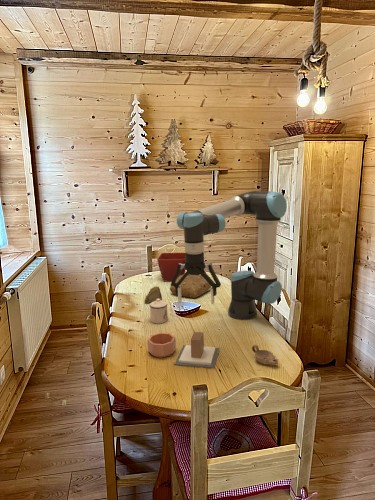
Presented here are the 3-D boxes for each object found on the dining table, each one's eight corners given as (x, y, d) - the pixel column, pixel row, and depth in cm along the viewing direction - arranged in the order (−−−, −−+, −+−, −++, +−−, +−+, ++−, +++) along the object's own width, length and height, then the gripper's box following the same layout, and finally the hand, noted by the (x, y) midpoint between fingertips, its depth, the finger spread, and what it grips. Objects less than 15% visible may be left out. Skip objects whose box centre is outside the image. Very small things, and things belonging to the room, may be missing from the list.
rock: (142, 302, 212) (159, 299, 211) (141, 287, 216) (158, 285, 214) (147, 307, 222) (163, 304, 221) (146, 293, 225) (162, 291, 224)
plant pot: (162, 274, 271) (161, 252, 268) (188, 274, 269) (188, 252, 266) (158, 283, 253) (157, 259, 249) (186, 283, 251) (185, 259, 247)
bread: (196, 301, 218) (195, 281, 215) (166, 295, 229) (165, 276, 226) (215, 289, 238) (215, 271, 235) (187, 284, 249) (186, 267, 246)
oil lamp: (282, 365, 146) (283, 354, 145) (268, 371, 142) (268, 359, 141) (259, 352, 157) (260, 341, 156) (246, 357, 153) (246, 346, 152)
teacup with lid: (167, 323, 187) (166, 302, 185) (149, 324, 188) (148, 302, 185) (169, 314, 199) (168, 293, 197) (152, 314, 199) (151, 294, 197)
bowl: (177, 346, 164) (177, 333, 162) (171, 359, 153) (170, 345, 152) (153, 344, 166) (153, 332, 165) (145, 356, 156) (145, 343, 154)
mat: (219, 349, 160) (219, 348, 160) (213, 368, 145) (213, 367, 145) (183, 346, 164) (183, 345, 164) (174, 365, 148) (174, 364, 148)
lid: (215, 349, 159) (215, 330, 157) (210, 365, 147) (210, 344, 145) (185, 347, 162) (185, 328, 160) (178, 362, 149) (178, 341, 147)
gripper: (161, 254, 146) (164, 304, 151) (224, 254, 141) (225, 307, 145) (166, 249, 153) (169, 298, 158) (226, 250, 148) (227, 300, 153)
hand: (196, 302), depth 152 cm, fingers open, 13 cm apart
